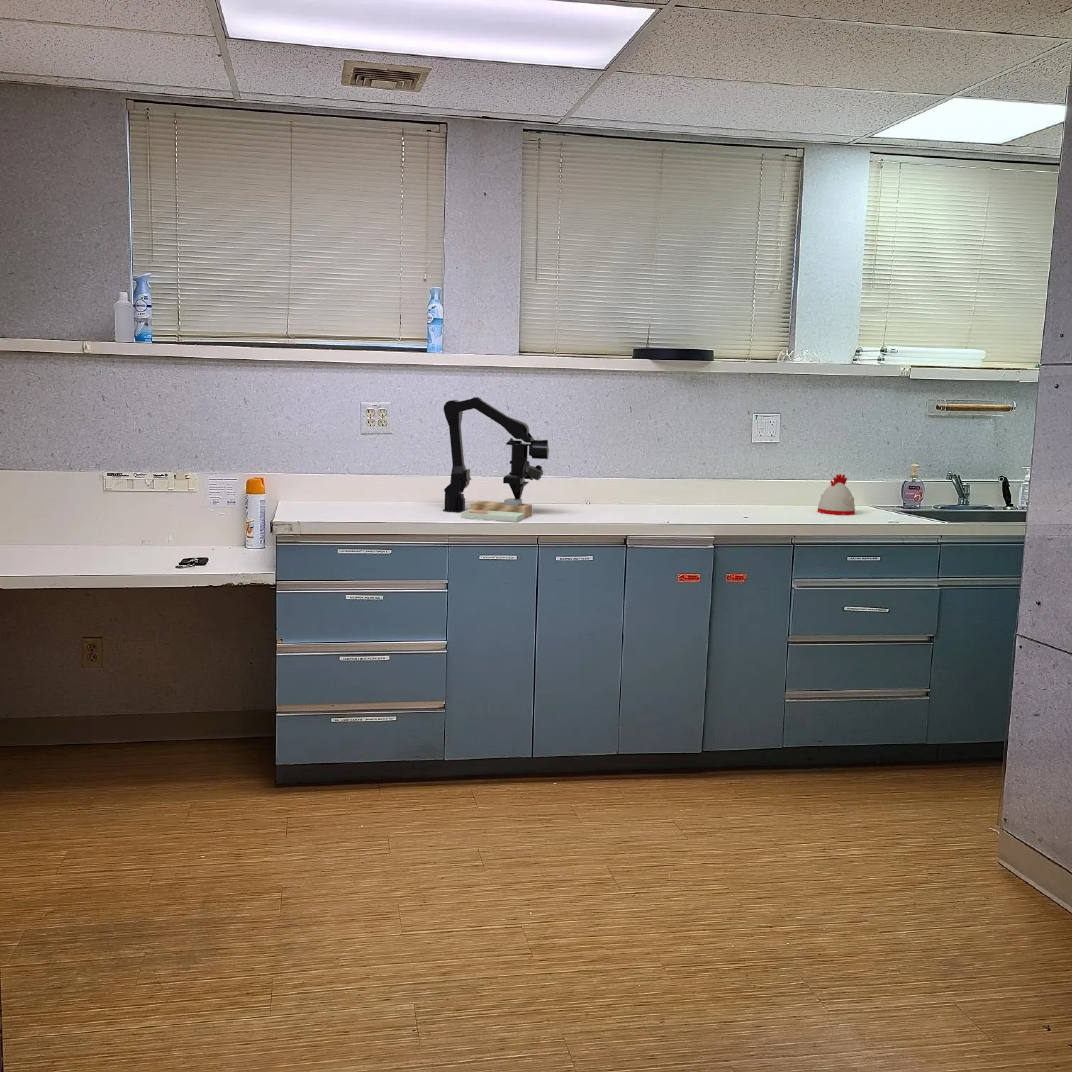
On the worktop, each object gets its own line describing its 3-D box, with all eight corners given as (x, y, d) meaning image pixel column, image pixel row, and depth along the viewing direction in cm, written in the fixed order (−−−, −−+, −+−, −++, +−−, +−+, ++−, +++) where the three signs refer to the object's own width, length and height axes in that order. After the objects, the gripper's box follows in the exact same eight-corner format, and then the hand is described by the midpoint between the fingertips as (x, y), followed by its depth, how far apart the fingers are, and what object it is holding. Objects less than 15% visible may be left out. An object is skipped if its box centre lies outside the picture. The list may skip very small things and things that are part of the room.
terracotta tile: (474, 509, 375) (473, 515, 375) (469, 511, 370) (469, 517, 370) (487, 510, 374) (487, 516, 374) (483, 512, 369) (483, 518, 369)
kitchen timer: (862, 514, 414) (865, 475, 412) (836, 516, 407) (839, 476, 405) (835, 509, 426) (838, 472, 424) (810, 511, 419) (812, 472, 417)
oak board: (470, 514, 379) (470, 503, 378) (478, 511, 387) (478, 500, 387) (524, 518, 374) (525, 507, 373) (531, 515, 382) (531, 504, 381)
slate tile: (504, 505, 376) (504, 499, 376) (508, 503, 381) (508, 498, 381) (517, 506, 375) (517, 500, 375) (521, 504, 380) (521, 499, 379)
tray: (461, 518, 370) (461, 512, 369) (470, 514, 379) (470, 509, 378) (516, 522, 364) (516, 516, 364) (524, 518, 373) (524, 513, 373)
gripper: (534, 461, 370) (532, 506, 373) (547, 457, 388) (546, 500, 391) (503, 459, 373) (502, 504, 376) (518, 455, 391) (517, 498, 394)
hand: (518, 501), depth 384 cm, fingers closed
